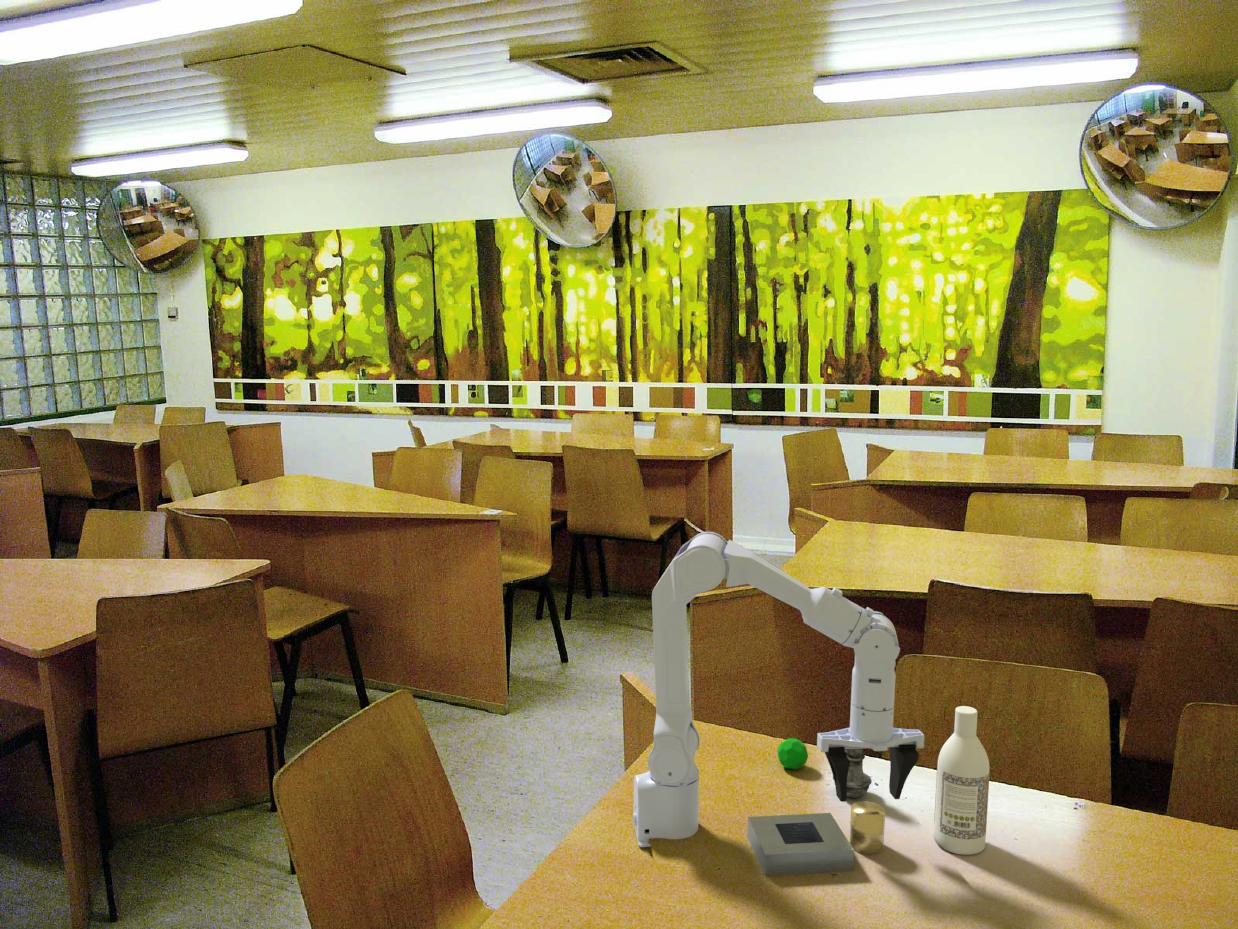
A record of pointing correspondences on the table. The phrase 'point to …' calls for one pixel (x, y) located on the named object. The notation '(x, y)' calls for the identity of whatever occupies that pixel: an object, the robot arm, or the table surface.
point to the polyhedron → (792, 753)
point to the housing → (799, 844)
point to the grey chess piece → (856, 774)
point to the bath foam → (962, 788)
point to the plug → (867, 828)
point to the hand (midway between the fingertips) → (867, 797)
